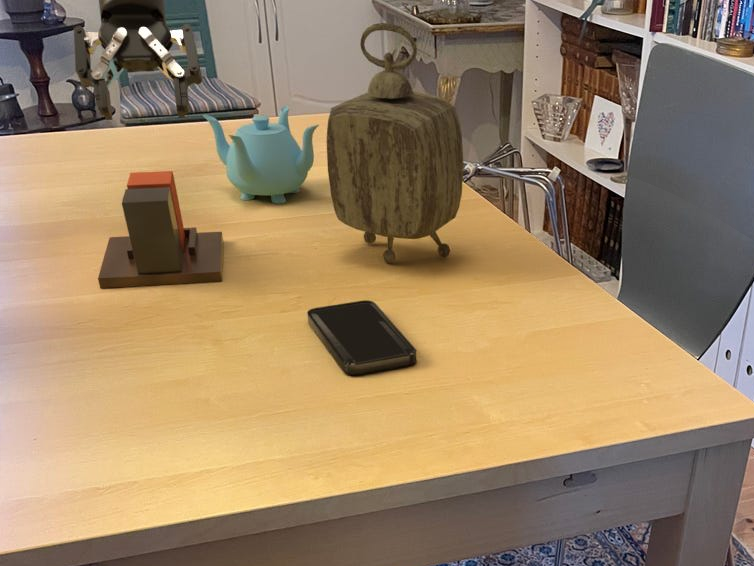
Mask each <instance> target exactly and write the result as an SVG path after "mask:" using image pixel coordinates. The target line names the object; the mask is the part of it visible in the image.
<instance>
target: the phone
mask: <svg viewBox="0 0 754 566" xmlns="http://www.w3.org/2000/svg"><path fill="white" fill-rule="evenodd" d="M306 314H307V321H308V324H309V326H310V327H311V329H312V330H313V332H314V333H315V335H317V338H318V339H319V340H320V341H321V343H322V344H323V345H324V347H325V348H326V350H327V351H328V352H329V354H330V355H331V357H332V358H333V359H334V361H335V362H336V363H337V365H338V366H339V368H340V369H341V370H342V372H343V373H344V374H346V375H348V376H360V375H366V374H371V373H376V372H383V371H387V370H392V369H398V368H399V369H400V368H404V367H405V368H406V367H411V366H413V365H415V364H416V363H417V361H418V359H417V349H416V347H414V345H413V344H412V343H411V342H410V341H409V340H408V338H407V337H406V336H405V335H404V334H403V333H402V332H401V330H400V329H399V328H398V327H397V326H396V325H395V324H394V322H393V321H392V320H391V319H390V318H389V317H388V316H387V315H386V313H385V312H384V311H383V310H382V309H381V308H380V306H379V305H378V304H377V303H376V302H375V301H373V300H366V299H365V300H364V299H363V300H357V301H351V302H344V303H338V304H332V305H325V306H319V307H313V308H311V309H308V310H307V312H306Z"/></svg>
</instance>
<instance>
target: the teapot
mask: <svg viewBox="0 0 754 566" xmlns="http://www.w3.org/2000/svg"><path fill="white" fill-rule="evenodd" d="M289 111H290V107H289V105H284V106H282V107H281V108H280V110H279V115H278V120H277V123H275V122H269V121H270V116H269V117H268V116H266V115H256V116H254V117H252V118H251V120H252V123H247V124H245V125H241V126H240V127H239V128H237V129H236V131H235V133H234V135H232V134H229V135H228V137H230V139H231V143H230V144H229V143H228V141H227V139H226V136H225V133H224V129H223V126H222V124H221V123H220V122H219V120H218V119H216V118H215V117H213V116H212V115H209V114H202V117H203V118H204V119H205V120H206V121H207V122H208V123H209V125H210V127H211V129H212V132H213V134H214V141H215V148H216V149H215V150H216V153H217V155H218V158H219V160H220V161H221V162H222V164H223V165H224V166H225V168H226V169H225V170H226V171H225V172H226V177H227V179H228V181H229V182H230V183H231V185H232V186H234V187H235V188H236V189H237V190H238V191H239V192H241V196H240V197H239V199H240V200H242V201H251V200H254V199H255V198H256V196H270V198H271V199H270V200H271V203H273V204H284V203H286V201H287V200H286V198H285V197H286V196H285V195H284V194H297V193H300V192H301V191H300V188H301V187H302V186H303V184H304V182H305V181H306V179H307V177H308V175H309V174H308V173H309V171H310V170H311V169H312V167H313V165H314V161H315V152H314V146H313V145H314V144H313V137H314V133H315V130H317V128H318V127H319V126H320V124H315V125H311V126H307V127H306V128H305V129H304V131H303V134H302V147H301V146H300V145H299V143H298V142H297V141H296V138H295V137H294V136H293V135H292V133H291V129H290V124H289Z"/></svg>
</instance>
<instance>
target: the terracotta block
mask: <svg viewBox="0 0 754 566" xmlns="http://www.w3.org/2000/svg"><path fill="white" fill-rule="evenodd" d="M165 187H169V188H170V191H171V196H172V201H173V206H174V212H175V217H176V222H177V227H178V232H179V237H180V242H181V247H182V252H184V247H185V233H184V228H185V227H184V223H183V218H182V212H181V207H180V202H179V197H178V191H177V186H176V181H175V176H174V171H173V170H164V171H162V170H161V171H140V172H129V176H128V179H127V183H126V189H142V188H165Z"/></svg>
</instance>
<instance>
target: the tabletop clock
mask: <svg viewBox="0 0 754 566" xmlns="http://www.w3.org/2000/svg"><path fill="white" fill-rule="evenodd" d="M377 31H388V32H394V33H398V34H400V35H402V37H404V38H406V40H407V41H408V42H409V44H410V46H411V48H412V54H411V56H410V57H409V58H407V59H405V60H401V61H394V60H395V59H394V55H393V53H391V52H386V53H384V55H383V59H379V58H377V57H375V56H373V55H371V54H370V53H369V52H368V51H367V49H366V46H365V42H366V40H367V38H368V37H369V36H370V35H371V34H372V33H374V32H377ZM359 45H360V49H361V52H362V54H363V56H364V57H365V58H366V59H367V61H368V62H370V63H371V64H373V65H375V66H377V67H380V68H383V69H384V70H382V71H379V72H377V73H375V74H374V76H372V78H371V80H370V82H369V83H368V88H367V89H368V90H367V92H365V93H363V94H360V95H358V96H356V97H353V98H351V99H349V100H346V101H344V102H341V103H339V104H337V105H335V106H333V107H331V108H330V111H329V115H328V119H327V128H326V160H327V161H326V162H327V175H328V181H329V190H330V195H331V196H330V198H331V202H332V206H333V210H334V213H335V216H336V218H337V220H338V221H339V222H341V223H342V224H344V225H346V226H348V227H351V228H353V229H355V230H358V231H361V232H364V233H363V240H364V242H365V243H366V244H369V245H372V244H374V243H375V241H376V240H377V236H381V237H384V238H387V250H385V251H383V253H382V259H383V262H384V263H386V264H388V265H389V264H393V263H395V261H396V257H397V256H396V253H395V251H394V250H393V244H394V239H402V240H403V239H404V240H405V239H406V240H420V239H423V238H427V237H430V238H431V239H432V241H434V242H435V244H436V245H437V246H438V247H437V253H438V255H439V256H440V257H441V258H446V257H448V256H449V255H450V253H451V247H450V245H449V244H448V243H445V242H444V243H443V242H442V240H441V239H440V237H439V235H438V233H437V231H439V229H441V228H442V227H444V226H446V225H447V224H448V223H449V222H451V221H453V220H454V219H455V218H456V217H457V214H458V213H459V209H460V206H461V200H462V195H463V184H464V183H463V182H464V166H465V165H464V148H463V134H462V127H461V122H460V118H459V115H458V112H457V109H456V106H455V105H453V103H451V102H450V101H448V100H446V99H444V98H442V97H439V96H436V95H433V94H429V93H423V92H419V91H414V90H413V88H412V85H411V83H410V81H409V79H408V78H407V77H406V76H405V75H404V73H403V72H400V71H398V69H403V68H406V67H408V66H410V65H412V63H413V62H414V61H415V60H416V57H417V54H418V48H417V44H416V41H415V39H414V37H413V35H411V33H410V31H408V30H406V29H405V28H404V27H403V26H401V25H398V24H394V23H388V22H379V23H374V24H372V25H370V26H368V27H366V29H364V31H363V32H362V35H361V38H360V44H359Z"/></svg>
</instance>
